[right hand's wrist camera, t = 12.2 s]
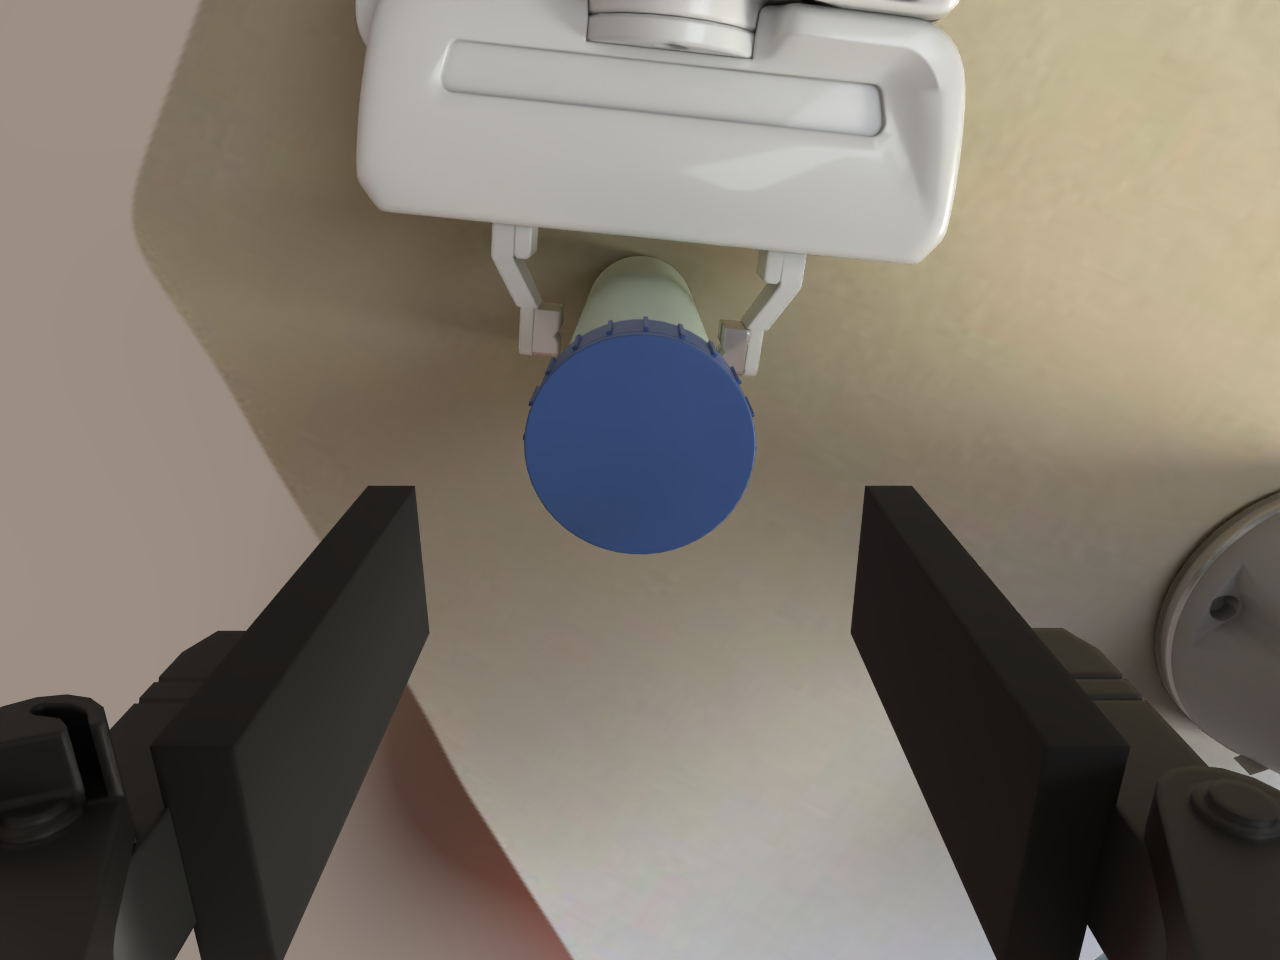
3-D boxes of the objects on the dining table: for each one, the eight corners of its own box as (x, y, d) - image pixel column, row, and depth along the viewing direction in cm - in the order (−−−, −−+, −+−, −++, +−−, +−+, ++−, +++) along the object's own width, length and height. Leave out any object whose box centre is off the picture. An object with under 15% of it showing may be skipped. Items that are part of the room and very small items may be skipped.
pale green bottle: (679, 371, 39) (714, 552, 21) (578, 350, 39) (524, 515, 21) (703, 268, 38) (763, 367, 19) (598, 245, 37) (558, 325, 19)
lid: (718, 541, 23) (726, 575, 21) (516, 501, 22) (505, 533, 20) (772, 341, 21) (785, 360, 19) (551, 295, 20) (542, 309, 18)
